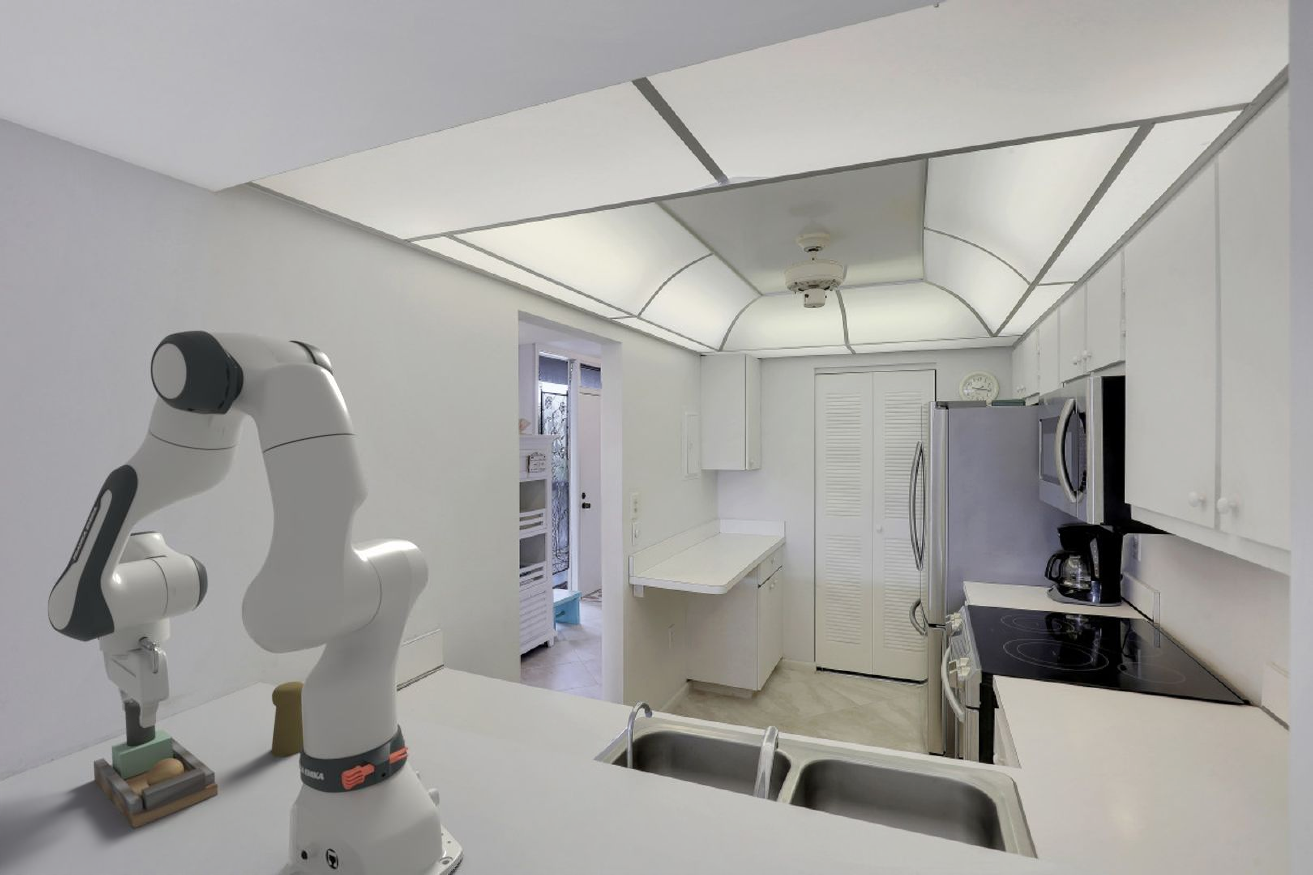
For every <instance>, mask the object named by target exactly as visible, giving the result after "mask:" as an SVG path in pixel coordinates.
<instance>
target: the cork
mask: <svg viewBox="0 0 1313 875" xmlns="http://www.w3.org/2000/svg"><path fill="white" fill-rule="evenodd" d="M303 685H304V682H301V681H289V682H285V683H282V684H280V685H278V686H277V687H275V688H274V689H273V690H272V694H271V701H272V705H274V706H275V713H274V721H273V722H274V724H273V732H272V742H271V743H272V744H271V755H272V756H276V757H286V756H292V755H295V754H298V753H299V754H300V750H301V747H302V746H303V721H302V700H301V694H302V688H303Z"/></svg>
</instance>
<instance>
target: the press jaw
mask: <svg viewBox="0 0 1313 875" xmlns="http://www.w3.org/2000/svg"><path fill="white" fill-rule="evenodd" d="M140 712H141V707H140V706H139V703H138V702H137V701H135V702H132V703H130V704H128V705H126V706H125V711H124V714H125V733H126V734H125V735H126V741H123V742H119V743H115V744H113V745H111V759H112V761H111V762H112V764H113V769H114V770H115V771H116V772H117V773H118V775H119V776H120V777H121V778H122V779H123V780H124V779H127V778H130V777H132V776H135V775H138V774H141V773H144V772H146V771H149V770H150V769H151V768H152V767H153V766H154V765H155V764H156V763H157V762H159V761H161V760H163V759H167V758H173V743H172V738H173V737H172V736H171V735H170V734H169V733H168V732H166V731H165V730H164V729H159V730H156V724H155V725H153V726H150V727H147V728H143V727H142V726H141V725H140V724H139V715H140ZM112 764H111V765H112Z"/></svg>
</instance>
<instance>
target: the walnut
mask: <svg viewBox="0 0 1313 875" xmlns="http://www.w3.org/2000/svg"><path fill="white" fill-rule="evenodd" d="M183 773H184V767H183V765H182V763H181V762H180V761H179V760H177V759H173V758H167V759H163V760H161V761H159V762H157V763H156V764H155V765H154V766H153V767H152V768H151V769H150V771H149V772H148V775H147V784H148V786H152V785H155V784H157V783H160V782H162V781H165V780H168V779H170V778H173V777H176V776H178V775H181V774H183Z"/></svg>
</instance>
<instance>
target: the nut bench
mask: <svg viewBox="0 0 1313 875" xmlns="http://www.w3.org/2000/svg"><path fill="white" fill-rule="evenodd" d="M172 743H173V759H177V760H179V761H180V762H181V763H182V765H183V767H184V773H183V774H181V775H178V776H176V777H173V778H170V779H168V780H165V781H162V782H160V783H157V784H155V785H152V786H148V784H147V775H148V772H149V771H150V770H149V771H146V772H144V773H141V774H138V775H135V776H132V777H130V778H127V779H124V780H123V779H122V778H121V777H120V776H119V775H118V773H117V772H116V771H115V770H114V769H113V764H109V762H108V761H107V760H106V759H105V758H99V759H96V760H93V776H94V781H95V782H96V783H97V785H98V786H99V787H100V789H102V791H103V792H104V793H105V795H106V796H107V797H108V798H109V799H110V800H111V801H112V803H113V804H114V805H115V806H116V808H117V809H118V810H119V811H120V812H121V814H122V815H123V816H124V818H125V819H126V820H127V821H128V823H129V824H130V825H131V826H132V827H133V829H137V828H139V827H141V826H145V825H146V824H149V823H150V822H154V821H156V820H158V819H161V818H163V817H165V816H168V815H171V814H172V813H176V812H178V811H180V810H182V809H185V808H188V807H190V806H192V805H195V804H197V803H199V802H202V801H205V800H207V799H210V798H212V797H214V796H216V795H219V794H218V793H219V791H218V790H219V788H218V783H217V782H216V776H215V775H216V773H215V771H213V770H212V769H211V768H209V767H208V766H207V765H206V764H205V763H204V762H202V761H201V760H200V759H198V758H197V756H195V755H194V754H192V753H191V751H189V750H188V749H187V748H186V747H184V746H183V745H181V744H180V743H179V742H178V741H176V740H175V739H174V738H173V737H172Z"/></svg>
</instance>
